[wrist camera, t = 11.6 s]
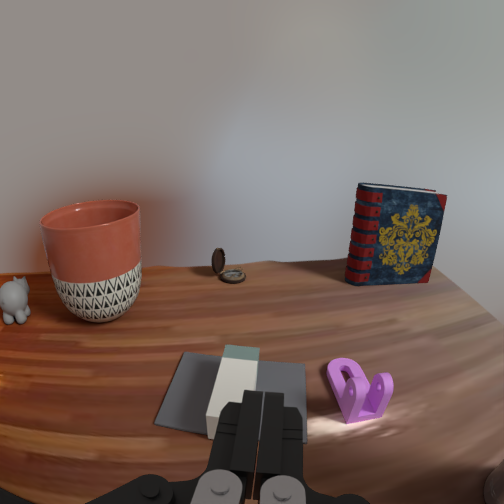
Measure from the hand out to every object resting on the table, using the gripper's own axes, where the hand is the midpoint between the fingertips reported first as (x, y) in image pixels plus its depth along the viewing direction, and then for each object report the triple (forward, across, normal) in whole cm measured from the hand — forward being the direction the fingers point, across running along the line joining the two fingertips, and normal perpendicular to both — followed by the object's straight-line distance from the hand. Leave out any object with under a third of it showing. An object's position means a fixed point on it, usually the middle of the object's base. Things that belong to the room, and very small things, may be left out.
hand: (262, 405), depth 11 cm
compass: (+63, +11, +26) cm, 69 cm away
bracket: (+26, -13, +26) cm, 40 cm away
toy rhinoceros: (+34, +54, +26) cm, 69 cm away
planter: (+40, +34, +26) cm, 59 cm away
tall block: (+15, +4, +23) cm, 28 cm away
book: (+67, -30, +26) cm, 78 cm away
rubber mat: (+24, +4, +26) cm, 36 cm away
